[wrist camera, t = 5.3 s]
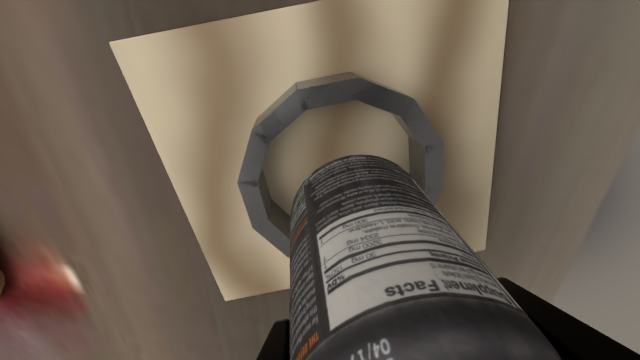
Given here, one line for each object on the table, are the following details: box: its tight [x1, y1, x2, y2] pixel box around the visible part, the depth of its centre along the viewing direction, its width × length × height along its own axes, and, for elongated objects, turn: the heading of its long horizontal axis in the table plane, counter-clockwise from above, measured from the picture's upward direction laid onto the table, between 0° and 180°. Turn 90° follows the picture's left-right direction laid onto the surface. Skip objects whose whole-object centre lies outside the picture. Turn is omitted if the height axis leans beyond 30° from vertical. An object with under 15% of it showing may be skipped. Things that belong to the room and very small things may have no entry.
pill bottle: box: [290, 155, 562, 360], centre depth 9 cm, size 6×6×11 cm
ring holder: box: [109, 0, 509, 301], centre depth 18 cm, size 20×18×3 cm
